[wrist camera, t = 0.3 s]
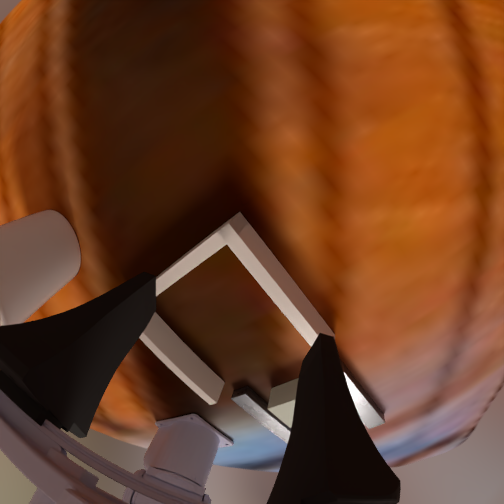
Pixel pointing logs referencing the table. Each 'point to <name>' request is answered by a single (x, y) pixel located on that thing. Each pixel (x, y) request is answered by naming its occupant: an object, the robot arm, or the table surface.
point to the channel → (260, 412)
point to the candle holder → (35, 263)
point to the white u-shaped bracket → (266, 274)
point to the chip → (283, 401)
